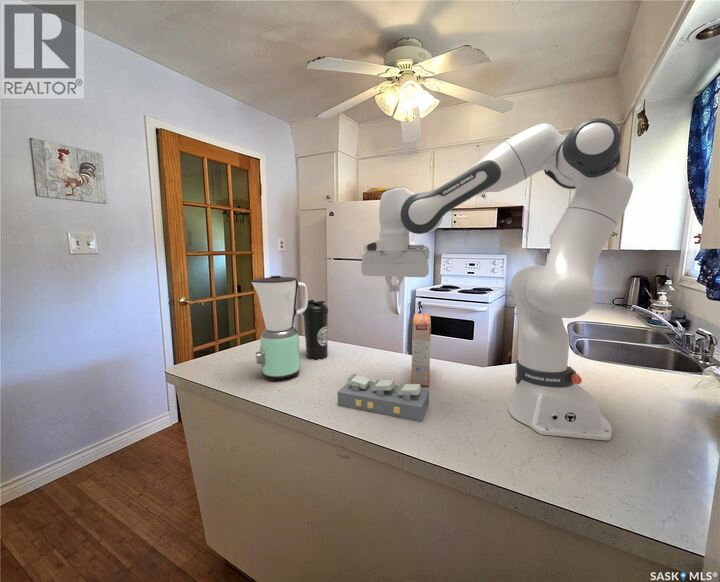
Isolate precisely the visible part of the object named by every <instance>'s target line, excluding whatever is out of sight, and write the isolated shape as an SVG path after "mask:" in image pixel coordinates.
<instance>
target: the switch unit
mask: <svg viewBox="0 0 720 582" xmlns="http://www.w3.org/2000/svg"><path fill="white" fill-rule="evenodd" d="M374 382H375V381H372V380H370V384H369V385H368V386H367V387H366V389H362V388H359V385H356V384H352V385H350V384H347V382H346V383H345V384H344V385H343V386H342V387H341V388H340V389H339V390H338V391H337V406H340V407H341V406H342V407H345V408H346V407H347V408H350V409H355V410H360V411H361V410H362V411H366V412H371V413H377V414H380V415H385V416H392V417H395V418H400V419H405V420H410V421H411V420H412V421H415V422H416V421H417V422H421V423H422V421H423V418H424V416H425V414H426V412H427V409H428V407H429V405H430V390H428V389H422V388H421V390H420V392H419V394H418V395H411V394H409V393H403V395H398V393H397V390H398V388H399V387H400V385H396V384H395V385H394V387H393V388H392V390H387V391H384V389H380V388H377V389H376V391H372V388H371V386H372V385H373V383H374Z"/></svg>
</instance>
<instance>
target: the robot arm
mask: <svg viewBox="0 0 720 582" xmlns="http://www.w3.org/2000/svg"><path fill="white" fill-rule="evenodd" d="M620 133H621V132H620V131H619V128H618V126H617V125H616V124H615V123H614V122H613V121H611V120H609V119H606V118H599V117H598V118H597V117H596V118H591V119H587V120H585V121H583V122H580V123H579V124H577V125H576V126H575V127H574V128H573V129H572V130H571V131H570V132H569V133H568V134H567V135H566V136H565V135H562V134H561V133H560V132H559V130H558V129H557V128H556V127H555V126H554V125H553V124H552V125H551V124H549V123H538V124H536V125H534V126H532V127H530V128H529V127H528V128H527V129H525V130H523V131H521V132H519V133H517V134H515V135H513V136H512V137H509V138H508V139H507V140H505V141H504V142H502V143H500V144H499V145H497V146H496V147H494V148H493V149H491V150H490V151H489V152H488V153H486V154H485V155H484V156H483V157H482V158H481V159H479V160H478V161H477V162H476V163H475V164H474V165H472V166H471V167H470V168H469V169H468V170H466V171H465V172H463V173H461V174H459V175H458V176H456V177H454V178H453V179H451V180H449V181H448V182H446V183H444V184H443V185H441V186H438V187H437V188H435V189H433V190H429V191H425V192H423V191H422V192H417V193H416V192H412V191H411V190H409V189H408V188H407V187H405V186H398V187H392V188H389V189H387V190H385V191H384V192H383V193H382V194H381V196H380V201H379V208H378V209H379V211H378V213H379V214H378V221H379V224H380V231H379V238H378V239H377V240H374V241H371V242H368V243H365V244H364V245H363V250H364V253H363V254H362V257H361V265H360V267H361V270H360V271H361V275H363V276H364V277H365V276H367V277H369V276H370V277H385V278H384V281H385V282H386V284H387V285H388V292H395V293H397V292H398V293H399V292H400V290H401V285H402V282H403V281H404V278H426V277H427V276H428V275H429V273H430V269H429V268H430V266H429V261H428V260H429V259H430V249H429V247H428V246H425V244H410V232H411V233H412V234H415V235H422V234H427V233H428V234H429V233H431V232H434V231H435V230H437V229H438V228H439V227H440V225H441V224H442V221H443V216H445V215H446V214H448V213H449V212H450V211H452V210H453V209H455V208H456V207H458V206H460V205H462V204H463V203H465V202H467V201H469V200H470V199H472V198H474V197H476V196H479V195H481V194H484V193H499V192H502V191H505V190H507V189H509V188H511V187H514V186H516V185H518V184H519V183H521V182H523V181H525V180H526V179H528V178H530V177H531V176H533V175H535V174H537V173H539V172H541V171H544V174H545V175H546V176H547V177H549V178H550V179H551V180H553V181H554V183H556V184H557V185H558V186H560V187H561V188H563V189H566V190H575V192H574V195H573V198H572V199H571V201H570V203H569V204H568V206H567V208H566V209H565V211H564V213H563V215H561V218H560V219H559V221H558V223H557V225H556V226H555V228H554V230H553V231H552V233H551V235H550V237H549V245H550V248H549V253H548V255H547V259H546V262H545V264H544V266H541V265H534V266H533V265H532V266H527V267H524V268H521V269H520V270H518V271H517V272H516V273H515V274H514V275H513V276H512V278H511V281H510V289H511V291H512V295H513V296H514V300H515V309H516V315H517V316H516V317H517V321H518V328H519V329H518V331H519V332H518V333H519V335H518V336H519V338H518V339H519V340H518V358H517V359H516V363H515V370H514V371H515V372H514V379H515V385H514V391H513V395H512V399H511V401H510V404H509V406H508V412H509V414H510V415H511V417H512V418H514V419H515V420H517V421H519V423H522V424H524V425H526V426H528V427H530V428H531V429H532V430H534V431H535V432H536V433H537V434H539V435H543V436H544V435H545V436H553V437H554V436H555V437H565V438H566V437H567V438H576V439H584V440H585V439H586V440H587V439H588V440H596V441H610V440H611V439H612V437H613V429H612V426H611V423H609V421H608V420H607V418H606V417H605V416H604V415H603V414H602V413H601V409H600V408H601V407H600V406H599V403H598V402H597V400H596V399H595V397H594V396H593V395H592V394H590V393H589V392H588V391H587V390H586V389H585V388H583V387H582V386H580V385H581V384H582V377H581V376H580V375H579V374H578V373H577V372H576V370H575V369H573V368H572V367H571V365H568V364H569V363H568V362H569V351H570V336H569V332H568V330H566V329H567V328H566V327H565V324H564V321H563V319H576V318H579V317H581V316H583V315H585V314H586V313H588V312H589V311H590V310H591V308H592V307H593V304H594V303H595V299H596V291H595V287H594V286H593V278H594V273H595V268H596V265H597V261H598V259H599V257H600V255H601V253H602V251H603V249H604V247H605V246H606V244H607V242H608V241H609V239H610V238H611V236H612V234H613V233H614V231H615V230H616V228H617V226H618V224H619V222H620V221H621V219H622V217H623V215H624V213H625V211H626V209H627V207H628V204H629V202H630V199H631V197H632V195H633V194H632V193H633V190H634V185H633V181H632V180H631V179H630V178H629V177H628V176H627V175H625V174H624V173H622V172H619V171H617V170H615V168H616V167H618V165H620V163H621V150H620V149H621V134H620ZM392 277H396V280H397V281H398V282H397V283H396V284H393V283H392V281H391V280H392Z"/></svg>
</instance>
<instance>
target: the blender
mask: <svg viewBox="0 0 720 582" xmlns="http://www.w3.org/2000/svg"><path fill="white" fill-rule="evenodd" d="M250 283H251V284H252V286H253V287H254V289H255V291H256V294H257V296H258V301H259V304H260V309H261V314H262V318H263V322H264V326H265V328H264V329H263V330H262V331H261V334H260V345H259V346H260V348H259V351H256V352H255V361H256V364H257V365H260V366H261V372H262V375H263V376H264V377H266V378H267V379H269V382H270V381H271V383H273V382H276V381H277V380H281V379H282V380H283V379H288V378H291V377H292V378H297V377H299V375H298V373H299V372H300V370H301V360H300V358H301V356H300V339H299V333H298V331H297V329H296V327H294V323H295V317H296V316H297V315H301V314H303V312H304V311H305V310H306V308H307V306H308V301H309V298H308V297H309V296H308V294H309V293H308V288H307V287H308V286H307V285H306V283H304V282H300V281H298V279H297V277H293V276H281V275H271V276H269V277H262V278H257V279H256V278H255V279H252V280H250ZM299 287H302V305H301V307H300V308H298V309H297V308H296V307H297V293H298V288H299Z"/></svg>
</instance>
